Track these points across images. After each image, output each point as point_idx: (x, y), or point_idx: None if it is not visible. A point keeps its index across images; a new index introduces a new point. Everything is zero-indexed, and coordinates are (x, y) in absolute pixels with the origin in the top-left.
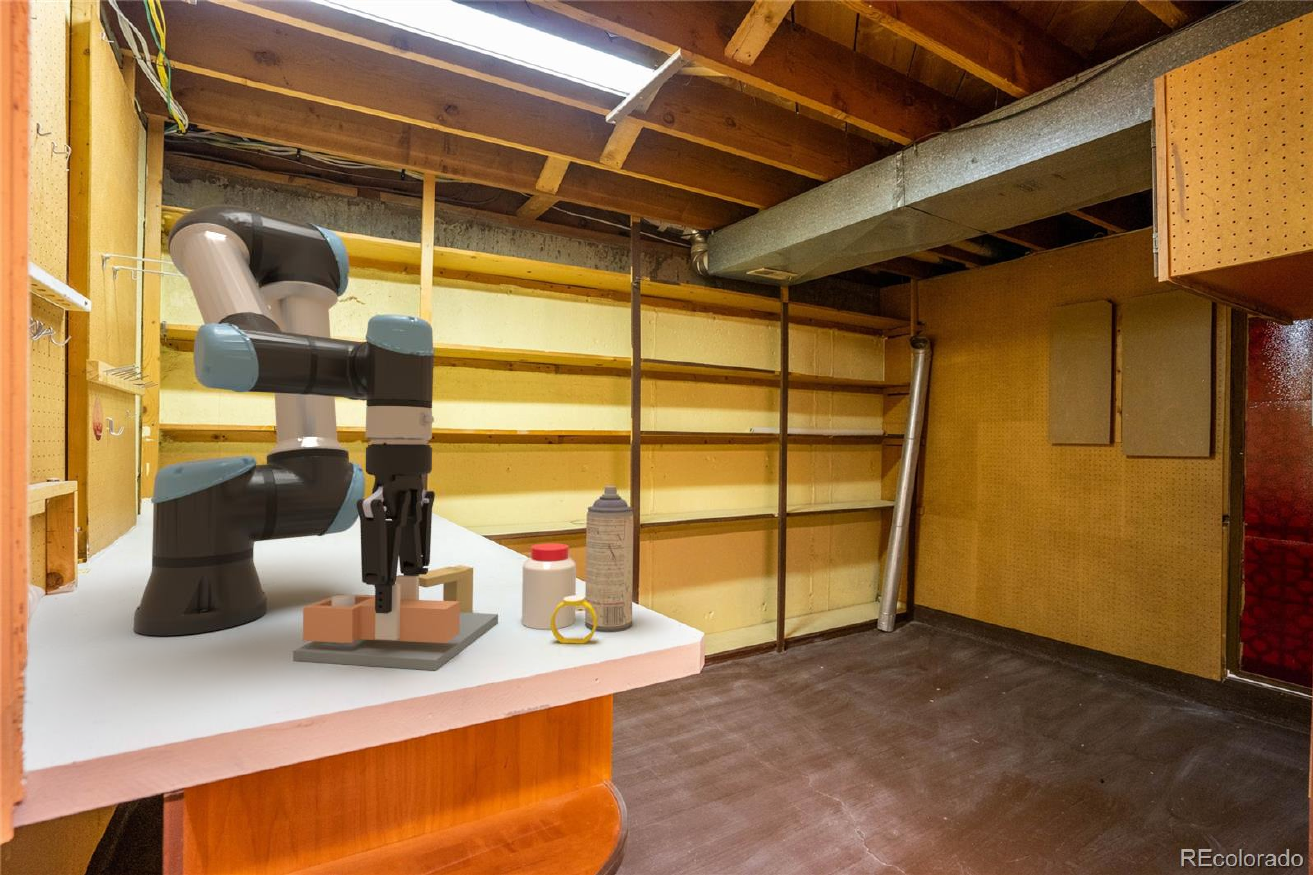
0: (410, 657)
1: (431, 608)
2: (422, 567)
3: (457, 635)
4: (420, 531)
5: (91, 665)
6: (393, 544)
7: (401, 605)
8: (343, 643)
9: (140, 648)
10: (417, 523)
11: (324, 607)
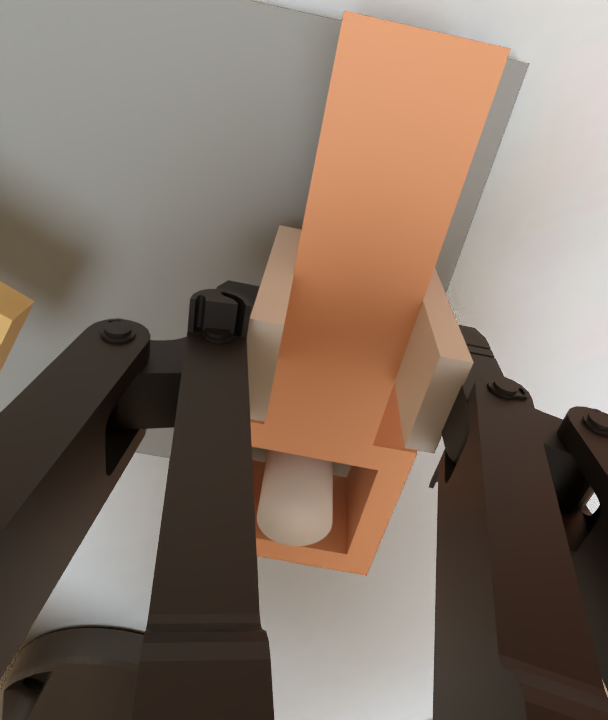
0: (478, 176)
1: (475, 142)
2: (189, 334)
3: (243, 58)
4: (35, 533)
5: (362, 705)
6: (572, 564)
7: (390, 304)
8: None
9: (284, 692)
10: (182, 621)
11: (379, 530)
